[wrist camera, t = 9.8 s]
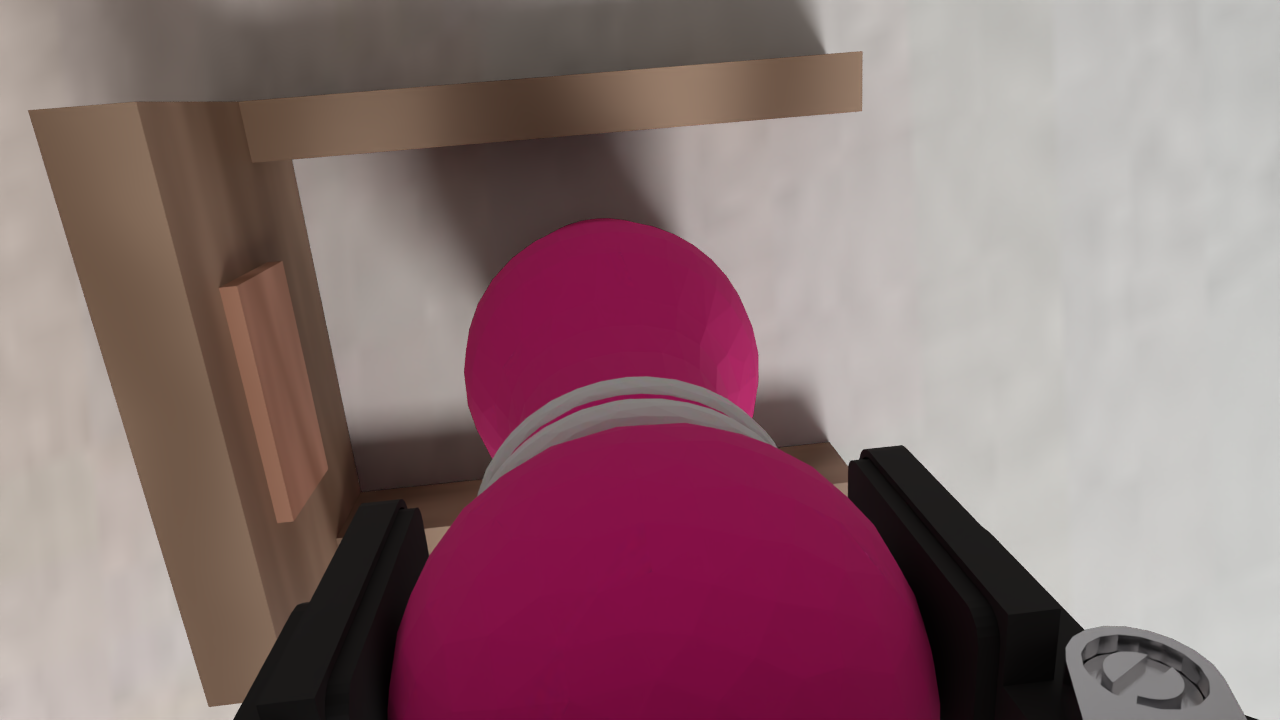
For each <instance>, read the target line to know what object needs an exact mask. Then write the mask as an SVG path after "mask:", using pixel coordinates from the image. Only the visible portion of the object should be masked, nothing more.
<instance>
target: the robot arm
mask: <svg viewBox="0 0 1280 720" xmlns="http://www.w3.org/2000/svg"><path fill="white" fill-rule="evenodd" d="M848 498H849V499H850V500H851V501H852V502H853V504H854V505H855V506H856V507H857V508H858V509H859V510H860V511H861V512H862V513H863V514H864V515H865V516H866V517H867V518H868V519H869V520H870V521H871V522H872V523H873V525H874V526H875V527H876V529H877V531H878V532H879V534H880V536H881V537H882V539H883V541H884V542H885V544H886V546H887V547H888V549H889V551H890V552H891V554H892V556H893V557H894V559H895V561H896V562H897V564H898V566H899V568H900V570H901V571H902V573H903V575H904V577H905V579H906V580H907V582H908V584H909V586H910V588H911V589H912V591H913V593H914V595H915V597H916V600H917V603H918V606H919V610H920V613H921V616H922V619H923V622H924V625H925V629H926V633H927V636H928V640H929V643H930V647H931V651H932V656H933V661H934V666H935V673H936V680H937V686H938V693H939V700H940V720H1257V719H1255V718H1252V717H1249V716H1246V715H1244V713H1243V711H1242V709H1241V707H1240V706H1239V704H1238V702H1237V700H1236V698H1235V696H1234V695H1233V693H1232V691H1231V689H1230V687H1229V685H1228V684H1227V682H1226V680H1225V679H1224V677H1223V676H1222V675H1221V673H1220V672H1219V671H1218V670H1217V668H1216V667H1215V666H1214V665H1213V664H1212V663H1211V662H1210V661H1208V660H1207V659H1206V658H1204V657H1203V656H1202V655H1200V654H1199V653H1198V652H1197V651H1195V650H1193V649H1191V648H1190V647H1188V646H1186V645H1184V644H1182V643H1180V642H1178V641H1176V640H1174V639H1172V638H1169V637H1166V636H1163V635H1160V634H1157V633H1154V632H1151V631H1147V630H1142V629H1137V628H1131V627H1126V626H1101V627H1096V628H1091V629H1086V630H1084V629H1083V628H1082V627H1081V626H1080V625H1079V624H1078V623H1077V622H1076V621H1075V620H1074V619H1073V618H1072V617H1071V616H1070V615H1069V613H1068V612H1067V611H1066V610H1065V609H1064V608H1063V607H1062V606H1061V605H1060V604H1059V603H1058V602H1057V601H1056V600H1055V599H1054V598H1053V597H1052V596H1051V595H1050V594H1049V593H1048V592H1047V591H1046V590H1045V589H1044V588H1043V587H1042V586H1041V585H1040V584H1039V583H1038V582H1037V581H1036V580H1035V579H1034V577H1033V576H1032V575H1031V574H1030V573H1029V572H1028V571H1027V570H1026V569H1025V568H1024V567H1023V566H1022V565H1021V564H1020V563H1019V562H1018V561H1017V560H1016V559H1015V558H1014V557H1013V556H1012V555H1011V554H1010V553H1009V552H1008V551H1007V550H1006V549H1005V548H1004V547H1003V546H1002V545H1001V544H1000V542H999V541H998V540H997V539H996V538H995V537H994V536H993V535H992V534H991V533H990V532H988V531H987V530H986V529H984V528H983V527H982V526H981V525H980V524H979V523H978V522H977V521H976V520H975V519H974V518H973V517H972V516H971V515H970V514H969V513H968V512H967V511H966V510H965V508H964V507H963V506H962V505H961V504H960V503H959V502H958V501H957V500H956V499H955V498H954V497H953V496H952V495H951V494H950V493H949V492H948V491H947V490H946V489H945V488H944V487H943V486H942V485H941V484H940V483H939V482H938V481H937V480H936V479H935V477H934V476H933V475H932V474H931V473H930V472H929V471H928V470H927V469H926V468H925V467H924V466H923V465H922V464H921V463H920V462H919V461H918V460H917V459H916V458H915V457H914V456H913V455H912V454H911V453H910V452H909V451H908V450H907V449H906V448H905V447H904V446H902V445H900V446H891V447H882V448H872V449H864V450H863V451H862V452H861V455H860V458H859V460H853V461H850V463H849V466H848ZM428 557H429V552H428V546H427V541H426V535H425V530H424V524H423V519H422V515H421V512H420V509H419V508H409V509H408V508H407V505H406V503H405V501H404V500H403V499H397V500H388V501H379V502H369V503H361V505H360V506H359V508H358V509H357V511H356V513H355V515H354V517H353V519H352V521H351V523H350V525H349V527H348V529H347V531H346V533H345V535H344V536H343V538H342V540H341V542H340V544H339V546H338V548H337V550H336V552H335V554H334V556H333V558H332V560H331V562H330V563H329V565H328V567H327V569H326V571H325V573H324V575H323V577H322V579H321V581H320V583H319V585H318V587H317V589H316V590H315V592H314V594H313V596H312V598H311V600H310V602H305V603H301V604H298V605H297V606H296V607H295V608H294V610H293V611H292V612H291V614H290V616H289V618H288V620H287V622H286V623H285V625H284V627H283V629H282V631H281V633H280V635H279V636H278V638H277V640H276V642H275V644H274V646H273V647H272V649H271V651H270V653H269V655H268V657H267V658H266V660H265V662H264V664H263V666H262V668H261V670H260V671H259V673H258V675H257V677H256V679H255V681H254V682H253V684H252V686H251V688H250V690H249V692H248V693H247V695H246V697H245V699H244V701H243V703H242V705H241V706H240V708H239V710H238V712H237V714H236V716H235V717H234V719H233V720H387V711H388V697H389V686H390V679H391V672H392V665H393V658H394V651H395V644H396V637H397V632H398V629H399V626H400V623H401V620H402V618H403V615H404V612H405V609H406V606H407V603H408V601H409V598H410V595H411V593H412V591H413V589H414V587H415V585H416V583H417V580H418V578H419V576H420V574H421V572H422V570H423V568H424V566H425V564H426V562H427V559H428Z"/></svg>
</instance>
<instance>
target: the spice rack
mask: <svg viewBox="0 0 1280 720" xmlns="http://www.w3.org/2000/svg"><path fill="white" fill-rule="evenodd" d="M857 111H862V51H860V52H847V53H835V54H823V55H810V56H798V57H785V58H773V59H761V60H748V61H736V62H723V63H711V64H699V65H686V66H674V67H661V68H649V69H637V70H624V71H612V72H599V73H587V74H575V75H562V76H550V77H537V78H525V79H513V80H500V81H488V82H475V83H463V84H451V85H438V86H426V87H413V88H401V89H389V90H376V91H364V92H351V93H339V94H327V95H314V96H302V97H289V98H277V99H265V100H252V101H240V102H127V103H114V104H102V105H89V106H77V107H64V108H52V109H40V110H28V112H29V115H30V118H31V122H32V125H33V128H34V132H35V135H36V138H37V141H38V145H39V148H40V151H41V155H42V158H43V161H44V165H45V168H46V171H47V174H48V178H49V181H50V184H51V188H52V191H53V194H54V198H55V201H56V204H57V207H58V211H59V214H60V217H61V221H62V224H63V227H64V231H65V234H66V237H67V240H68V244H69V247H70V250H71V254H72V257H73V260H74V264H75V267H76V270H77V273H78V277H79V280H80V283H81V287H82V290H83V293H84V297H85V300H86V303H87V306H88V310H89V313H90V316H91V320H92V323H93V326H94V330H95V333H96V336H97V339H98V343H99V346H100V349H101V353H102V356H103V359H104V363H105V366H106V369H107V372H108V376H109V379H110V382H111V386H112V389H113V392H114V396H115V399H116V402H117V405H118V409H119V412H120V415H121V419H122V422H123V425H124V429H125V432H126V435H127V439H128V442H129V445H130V448H131V452H132V455H133V458H134V462H135V465H136V468H137V472H138V475H139V478H140V481H141V485H142V488H143V491H144V495H145V498H146V501H147V505H148V508H149V511H150V514H151V518H152V521H153V524H154V528H155V531H156V534H157V538H158V541H159V544H160V547H161V551H162V554H163V557H164V561H165V564H166V567H167V571H168V574H169V577H170V580H171V584H172V587H173V590H174V594H175V597H176V600H177V604H178V607H179V610H180V613H181V617H182V620H183V623H184V627H185V630H186V633H187V637H188V640H189V643H190V646H191V650H192V653H193V656H194V660H195V663H196V666H197V670H198V673H199V676H200V679H201V683H202V686H203V689H204V693H205V696H206V699H207V703H208V706H209V707H212V706H220V705H229V704H237V703H243V701H244V699H245V697H246V695H247V693H248V692H249V690H250V688H251V686H252V684H253V682H254V681H255V679H256V677H257V675H258V673H259V671H260V670H261V668H262V666H263V664H264V662H265V660H266V658H267V657H268V655H269V653H270V651H271V649H272V647H273V646H274V644H275V642H276V640H277V638H278V636H279V635H280V633H281V631H282V629H283V627H284V625H285V623H286V622H287V620H288V618H289V616H290V614H291V612H292V611H293V610H294V608H295V607H296V606H297V605H298V604H301V603H305V602H310V600H311V598H312V596H313V594H314V592H315V590H316V589H317V587H318V585H319V583H320V581H321V579H322V577H323V575H324V573H325V571H326V569H327V567H328V565H329V563H330V562H331V560H332V558H333V556H334V554H335V552H336V550H337V548H338V546H339V544H340V542H341V540H342V538H343V536H344V535H345V533H346V531H347V529H348V527H349V525H350V523H351V521H352V519H353V517H354V515H355V513H356V511H357V509H358V508H359V506H360V505H361V503H369V502H379V501H388V500H397V499H403V500H404V501H405V503H406V505H407V508H408V509H409V508H419V509H420V512H421V515H422V519H423V524H424V530H425V535H426V541H427V546H428V552H429V555H430V554H431V553H432V551H433V550H434V548H435V547H436V546H437V544H438V543H439V541H440V540H441V539H442V537H443V536H444V535H445V533H446V532H447V530H448V529H449V528H450V526H451V525H452V523H453V522H454V521H455V519H456V518H457V517H458V515H459V514H460V512H461V511H462V510H463V508H464V507H466V506H467V505H468V504H469V503H470V502H472V501H473V500H474V499H475V498H476V497H477V496H478V491H479V489H480V486H481V483H482V480H483V479H480V480H471V481H461V482H452V483H443V484H433V485H424V486H415V487H405V488H396V489H387V490H377V491H368V492H361V490H360V485H359V480H358V475H357V470H356V466H355V461H354V456H353V451H352V446H351V442H350V437H349V432H348V427H347V422H346V418H345V413H344V408H343V403H342V398H341V394H340V389H339V384H338V379H337V374H336V370H335V365H334V360H333V355H332V350H331V346H330V341H329V336H328V331H327V326H326V322H325V317H324V312H323V307H322V302H321V298H320V293H319V288H318V283H317V278H316V274H315V269H314V264H313V259H312V254H311V250H310V245H309V240H308V235H307V230H306V226H305V221H304V216H303V211H302V207H301V202H300V197H299V192H298V187H297V183H296V178H295V173H294V168H293V163H292V159H303V158H314V157H326V156H338V155H350V154H362V153H373V152H385V151H397V150H409V149H421V148H433V147H444V146H456V145H468V144H480V143H492V142H503V141H515V140H527V139H539V138H551V137H562V136H574V135H586V134H598V133H610V132H621V131H633V130H645V129H657V128H669V127H680V126H692V125H704V124H716V123H728V122H739V121H751V120H763V119H775V118H787V117H798V116H810V115H822V114H834V113H846V112H857ZM778 449H780V450H781V451H783V452H785V453H787V454H789V455H791V456H793V457H795V458H797V459H799V460H800V461H802V462H804V463H806V464H808V465H810V466H812V467H813V468H814V469H816V470H817V471H818V472H819V473H820V474H821V475H823V476H824V477H825V478H826V479H827V480H828V481H829V482H831V483H832V484H833V485H834V486H835V487H836V488H838V489H839V490H840V491H841V492H842V493H843V494H845V495H846V496H847V497H848V466H847V465H846V463H845V462H844V461H843V459H842V458H841V457H840V455H839V454H838V453H837V451H836V450H835V449H834V447H833V446H832V445H831V444H830V442H826V443H817V444H807V445H798V446H789V447H779V448H778Z"/></svg>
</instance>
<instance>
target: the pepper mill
mask: <svg viewBox="0 0 1280 720" xmlns="http://www.w3.org/2000/svg"><path fill="white" fill-rule="evenodd" d="M464 375H465V384H466V392H467V401H468V406H469V409H470V412H471V415H472V418H473V420H474V423H475V426H476V429H477V431H478V433H479V435H480V437H481V439H482V440H483V442H484V444H485V446H486V448H487V450H488V452H489V454H490V456H491V457H492V461H491V462H490V464H489V466H488V467H487V469H486V472H485V474H484V477H483V480H482V483H481V486H480V489H479V491H478V496H477V497H476V498H475V499H474V500H473V501H472V502H470V503H469V504H468V505H467V506H466V507H464V508H463V510H462V511H461V512H460V514H459V515H458V517H457V518H456V519H455V521H454V522H453V523H452V525H451V526H450V528H449V529H448V530H447V532H446V533H445V535H444V536H443V537H442V539H441V540H440V541H439V543H438V544H437V546H436V547H435V548H434V550H433V551H432V553H431V554H430V555H429V557H428V559H427V562H426V564H425V566H424V568H423V570H422V572H421V574H420V576H419V578H418V580H417V583H416V585H415V587H414V589H413V591H412V593H411V595H410V598H409V601H408V603H407V606H406V609H405V612H404V615H403V618H402V620H401V623H400V626H399V629H398V632H397V637H396V644H395V651H394V658H393V665H392V672H391V679H390V686H389V697H388V711H387V720H940V700H939V693H938V686H937V680H936V673H935V666H934V661H933V656H932V651H931V647H930V643H929V640H928V636H927V633H926V629H925V625H924V622H923V619H922V616H921V613H920V610H919V606H918V603H917V600H916V597H915V595H914V593H913V591H912V589H911V588H910V586H909V584H908V582H907V580H906V579H905V577H904V575H903V573H902V571H901V570H900V568H899V566H898V564H897V562H896V561H895V559H894V557H893V556H892V554H891V552H890V551H889V549H888V547H887V546H886V544H885V542H884V541H883V539H882V537H881V536H880V534H879V532H878V531H877V529H876V527H875V526H874V525H873V523H872V522H871V521H870V520H869V519H868V518H867V517H866V516H865V515H864V514H863V513H862V512H861V511H860V510H859V509H858V508H857V507H856V506H855V505H854V504H853V502H852V501H851V500H850V499H849V498H848V497H847V496H846V495H845V494H843V493H842V492H841V491H840V490H839V489H838V488H836V487H835V486H834V485H833V484H832V483H831V482H829V481H828V480H827V479H826V478H825V477H824V476H823V475H821V474H820V473H819V472H818V471H817V470H816V469H814V468H813V467H812V466H810V465H808V464H806V463H804V462H802V461H800V460H799V459H797V458H795V457H793V456H791V455H789V454H787V453H785V452H783V451H781V450H780V449H778V448H777V446H776V444H775V443H774V441H773V440H772V439H771V437H770V436H769V435H768V434H767V432H766V431H765V430H764V429H763V428H762V427H761V426H760V425H759V424H758V423H757V422H755V421H754V420H753V419H752V417H753V413H754V406H755V400H756V393H757V387H758V350H757V346H756V341H755V337H754V332H753V328H752V325H751V323H750V320H749V318H748V315H747V313H746V311H745V308H744V306H743V304H742V302H741V299H740V297H739V295H738V293H737V292H736V290H735V289H734V287H733V286H732V284H731V282H730V281H729V279H728V278H727V276H726V275H725V274H724V273H723V272H722V271H721V269H720V268H719V267H718V266H717V265H716V264H715V263H714V262H713V261H712V259H710V258H709V257H708V256H707V255H705V254H704V253H703V252H702V251H700V250H699V249H698V248H697V247H695V246H694V245H692V244H690V243H689V242H687V241H685V240H683V239H682V238H680V237H678V236H676V235H675V234H672V233H669V232H667V231H664V230H661V229H659V228H656V227H653V226H649V225H644V224H639V223H634V222H630V221H627V220H620V219H611V218H600V219H590V220H583V221H579V222H576V223H572V224H569V225H566V226H564V227H562V228H560V229H558V230H556V231H554V232H552V233H550V234H549V235H547V236H545V237H543V238H541V239H539V240H537V241H535V242H534V243H532V244H531V245H529V246H528V247H526V248H525V249H524V250H522V251H521V252H520V253H518V254H517V255H516V256H514V257H513V258H512V259H511V260H510V261H509V262H508V263H507V264H506V265H505V266H504V268H503V269H502V270H501V271H500V272H499V273H498V274H497V275H496V276H495V277H494V279H493V280H492V281H491V283H490V285H489V286H488V288H487V290H486V291H485V293H484V295H483V296H482V298H481V300H480V301H479V303H478V306H477V308H476V311H475V314H474V317H473V320H472V323H471V326H470V329H469V335H468V341H467V348H466V357H465V368H464Z"/></svg>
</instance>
